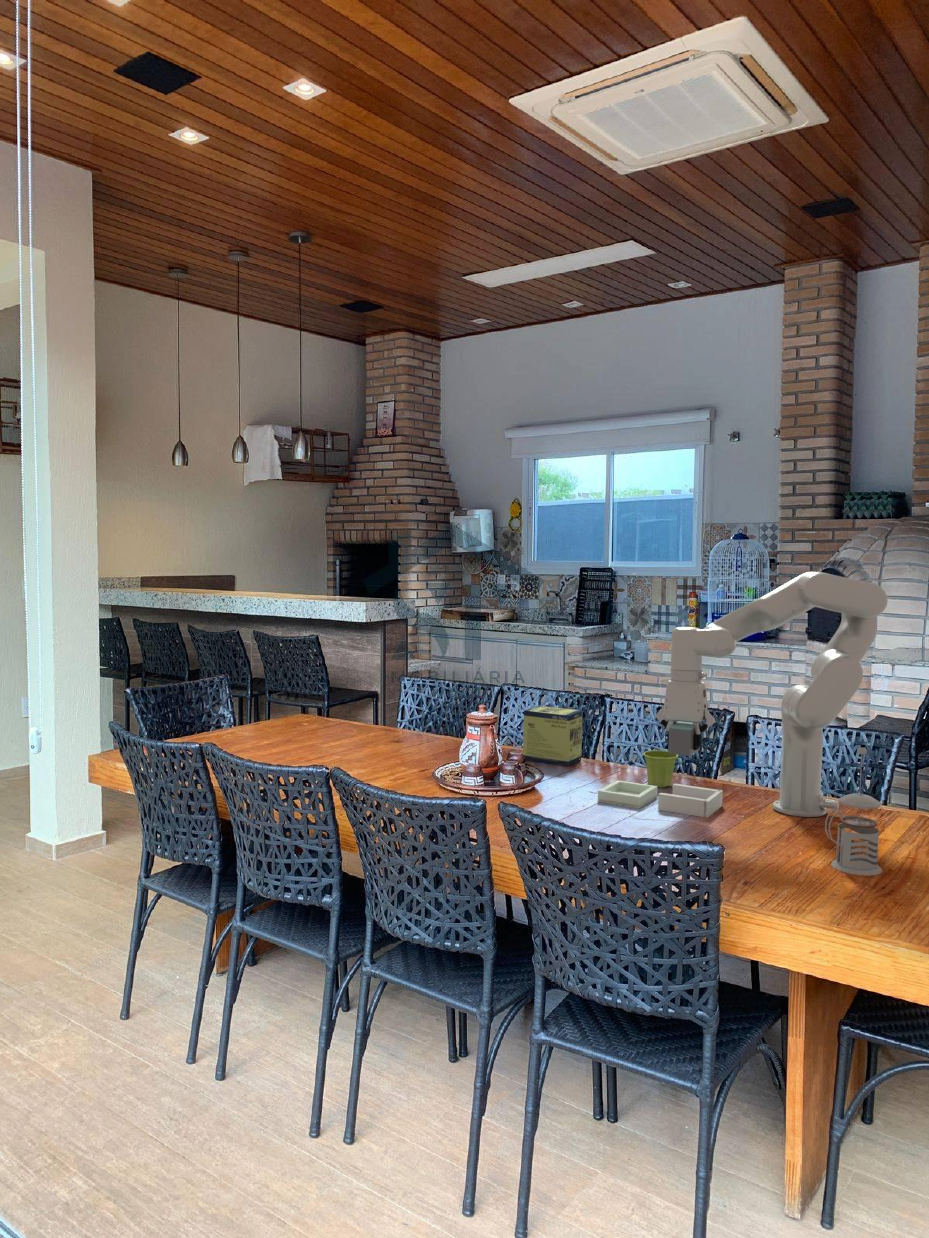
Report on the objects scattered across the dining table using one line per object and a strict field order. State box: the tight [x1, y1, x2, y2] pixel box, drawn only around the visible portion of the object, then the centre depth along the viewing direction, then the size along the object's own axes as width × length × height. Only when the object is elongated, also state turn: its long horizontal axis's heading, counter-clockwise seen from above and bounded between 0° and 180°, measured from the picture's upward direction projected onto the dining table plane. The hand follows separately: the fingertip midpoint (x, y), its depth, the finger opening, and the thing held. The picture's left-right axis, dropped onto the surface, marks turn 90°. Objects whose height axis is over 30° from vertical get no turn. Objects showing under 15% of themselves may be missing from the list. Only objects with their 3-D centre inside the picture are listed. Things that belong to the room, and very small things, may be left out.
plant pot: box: [642, 749, 679, 788], centre depth 257 cm, size 9×9×9 cm
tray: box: [597, 779, 658, 809], centre depth 242 cm, size 11×13×3 cm
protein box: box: [522, 705, 583, 767], centre depth 286 cm, size 10×16×16 cm
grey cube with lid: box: [667, 721, 701, 757], centre depth 235 cm, size 6×8×7 cm
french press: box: [824, 747, 883, 877], centre depth 191 cm, size 10×12×25 cm
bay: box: [657, 783, 724, 818], centre depth 235 cm, size 12×12×4 cm
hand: (684, 747), depth 235 cm, fingers closed on grey cube with lid, 5 cm apart
